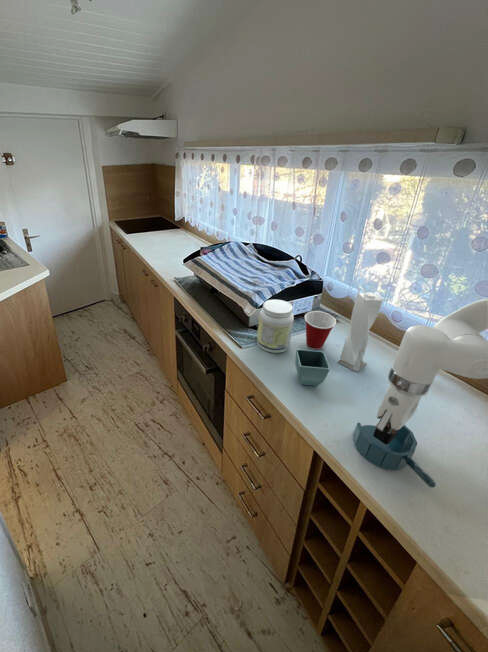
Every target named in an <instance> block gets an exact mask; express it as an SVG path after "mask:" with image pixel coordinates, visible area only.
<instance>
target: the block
mask: <svg viewBox="0 0 488 652" xmlns="http://www.w3.org/2000/svg"><path fill="white" fill-rule="evenodd" d="M377 425H378V423H377V424H376V425H375V426H376V427H377ZM386 426H387V427H388V428H389V427H390V425H389V424H387V425H386ZM375 430H376V429H375ZM374 432H375V431H374ZM391 432H392V435H391V438H390V440H389V442H388V444H389V443H390V442H391V441H392V440H393V439H394V438H395V436H396V434H397V432H398V430H395V429H392V431H391Z"/></svg>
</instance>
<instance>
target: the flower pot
mask: <svg viewBox="0 0 488 652" xmlns="http://www.w3.org/2000/svg"><path fill="white" fill-rule="evenodd" d="M294 361H295V369H296V374H297V378H298V382H299V383H300V385H303V386H304V385H305V386H313V387H314V386H315V387H316V386H319V385H322V383H324V382H325V380H326V378H327V377H328V375H329V372H330V370H331V367H330V364H329V361H328V358H327V356H326V353H325V351H322V350H310V349H300V348H299V349H298V348H297V349H295V360H294Z"/></svg>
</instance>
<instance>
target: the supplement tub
mask: <svg viewBox="0 0 488 652" xmlns="http://www.w3.org/2000/svg"><path fill="white" fill-rule="evenodd" d="M293 310H294V307H293V305H292V304H291V303H290V302H288V301H286V300H282V299H268V300H266V301H264V302H263V304H262V309H261V310H260V311H259V315H258V325H257V332H256V333H257V335H256V343H257V345H258V346H259V348H261V350H263V351H266V352H269V353H272V354H273V353H274V354H278V353H279V354H280V353H283V352H285V351H286V350H288V349H289V346H290V343H291V336H292V331H293V326H294V320H295V317H294V311H293Z"/></svg>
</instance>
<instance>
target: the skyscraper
mask: <svg viewBox="0 0 488 652" xmlns="http://www.w3.org/2000/svg"><path fill="white" fill-rule="evenodd" d="M360 291H362V292H360ZM383 303H384V298H383V297H382V296H381V295H380V293H379V292H377V291H375V292H369V291H367V292H365V289H364V288H363V287H362V286H361V285H359V286H358V287H357V294H356V297H355V300H354V304H353V308H352V312H351V318H350V324H349V325H350V326H349V327H350V328H349V331H348V333H347V335H346V338H345V340H344V344H343V347H342V350H341V354H340V357H339V359H338V360H337V361H336V364H338V365H340V366H342V367H345V368H346V369H348V370H350V371H352V372H355V373H359V372H360V371H361V370H362V369H363V368H364V367H365V366H366V365H367V362H365V361H363V359H364V357H365V353H366V349H367V346H368V342H369V336H370V335H369V332H370V329H372V326H373V325H374V323H375V322H376V320H377V318H378V315H379V313H380V310H381V308H382V305H383Z"/></svg>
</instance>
